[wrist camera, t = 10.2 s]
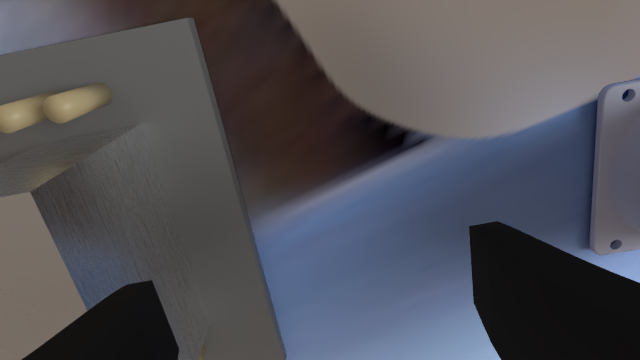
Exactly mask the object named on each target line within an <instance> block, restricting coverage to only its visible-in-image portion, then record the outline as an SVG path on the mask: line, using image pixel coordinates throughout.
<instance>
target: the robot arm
mask: <svg viewBox="0 0 640 360" xmlns="http://www.w3.org/2000/svg"><path fill="white" fill-rule="evenodd" d="M627 89H628V92H629V93H628V96H627V97H626V98H625V99H622V95H623V93H624V92H625V91H626V90H627ZM469 231H470V247H471V264H472V281H473V297H474V304H475V306H476V309H477V311H478V313H479V316H480V318H481V320H482V323H483V325H484V327H485V330H486V332H487V334H488V336H489V338H490V341H491V343H492V345H493V346H494V348H495V350H496V352H497V353H498V355H499V357H500V358H501V360H640V283H638V282H635V281H633V280H630V279H628V278H625V277H623V276H620V275H618V274H615V273H613V272H610V271H608V270H605V269H603V268H601V267H598V266H596V265H594V264H591V263H589V262H587V261H584V260H582V259H580V258H578V257H575V256H573V255H571V254H569V253H566V252H564V251H562V250H560V249H558V248H556V247H553V246H551V245H549V244H547V243H545V242H543V241H541V240H538V239H536V238H534V237H532V236H530V235H528V234H526V233H523V232H521V231H519V230H517V229H515V228H512V227H510V226H508V225H505V224H503V223H500V222H491V223H486V224H480V225H474V226H469ZM614 240H616V241H615V243H613V244H612V245H611V243H612V242H613V241H614ZM589 245H590V248H591V249H592V251H594V252H595V253H596V254H598V255H607V254H613V253H619V252H625V251H631V250H637V249H640V79H636V80H630V81H625V82H619V83H614V84H610V85H607V86H606V87H604V88H603V89H602V90H601V92H600V93H599V97H598V108H597V125H596V142H595V159H594V176H593V193H592V210H591V227H590V244H589ZM178 355H179V347H178V345H177V342H176V339H175V337H174V334H173V332H172V329H171V327H170V324H169V322H168V319H167V317H166V314H165V311H164V309H163V306H162V304H161V301H160V299H159V296H158V294H157V291H156V289H155V286H154V283H153V281H152V280H150V281H144V282H138V283H132V284H126V285H125V286H123V287H121V288H120V289H118V290H116V291H115V292H113V293H112V294H110V295H109V296H107V297H106V298H105V299H103V300H102V301H100V302H99V303H98V304H96V305H95V306H93V307H92V308H91V309H89V310H88V311H87V312H85V313H84V314H83V315H81V316H80V317H79V318H77V319H76V320H75V321H73V322H72V323H71V324H69V325H68V326H67V327H65V328H64V329H63V330H61V331H60V332H59V333H57V334H56V335H55V336H53V337H52V338H51V339H49V340H48V341H47V342H45V343H44V344H43V345H41V346H40V347H38V348H37V349H36V350H34V351H33V352H32V353H30V354H29V355H27V356H26V357H24V358H23V359H22V360H177V359H178Z"/></svg>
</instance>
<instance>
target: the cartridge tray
mask: <svg viewBox="0 0 640 360" xmlns="http://www.w3.org/2000/svg"><path fill="white" fill-rule="evenodd" d="M138 124H141V127H142V129H143V132H144V135H145V138H146V141H147V144H148V146H149V149H150V152H151V155H152V158H153V161H154V163H155V166H156V169H157V172H158V175H159V178H160V180H161V183H162V186H163V189H164V192H165V195H166V197H167V200H168V203H169V206H170V209H171V211H172V214H173V217H174V220H175V223H176V226H177V228H178V231H179V234H180V237H181V240H182V243H183V245H184V248H185V251H186V254H187V257H188V260H189V262H190V265H191V268H192V271H193V274H194V277H195V279H196V282H197V285H198V288H199V291H200V293H201V296H202V299H203V302H204V305H205V308H206V310H207V313H208V316H209V319H210V325H209V328H208V331H207V334H206V337H205V340H204V343H203V346H202V349H201V352H200V355H199V358H198V360H286V353H285V349H284V345H283V342H282V338H281V335H280V331H279V327H278V324H277V320H276V316H275V313H274V309H273V305H272V302H271V298H270V295H269V291H268V287H267V284H266V280H265V276H264V273H263V269H262V265H261V262H260V258H259V255H258V251H257V247H256V244H255V240H254V236H253V233H252V229H251V226H250V222H249V218H248V215H247V211H246V207H245V204H244V200H243V196H242V193H241V189H240V186H239V182H238V178H237V175H236V171H235V167H234V164H233V160H232V156H231V153H230V149H229V146H228V142H227V138H226V135H225V131H224V127H223V124H222V120H221V117H220V113H219V109H218V106H217V102H216V98H215V95H214V91H213V87H212V84H211V80H210V77H209V73H208V69H207V66H206V62H205V58H204V55H203V51H202V47H201V44H200V40H199V37H198V33H197V29H196V26H195V22H194V18H184V19H180V20H175V21H170V22H165V23H160V24H155V25H150V26H145V27H140V28H135V29H130V30H125V31H120V32H115V33H110V34H105V35H100V36H95V37H90V38H85V39H80V40H75V41H70V42H65V43H60V44H55V45H50V46H45V47H40V48H35V49H30V50H25V51H20V52H15V53H10V54H5V55H1V56H0V163H3V162H5V161H7V160H9V159H11V158H13V157H15V156H18V155H20V154H22V153H24V152H26V151H28V150H31V149H33V148H35V147H37V146H39V145H41V144H43V143H46V142H51V141H56V140H61V139H66V138H71V137H76V136H81V135H87V134H92V133H97V132H102V131H107V130H112V129H117V128H123V127H128V126H133V125H138Z"/></svg>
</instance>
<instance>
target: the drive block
mask: <svg viewBox="0 0 640 360" xmlns="http://www.w3.org/2000/svg"><path fill="white" fill-rule="evenodd" d="M150 280H152V281H153V283H154V286H155V289H156V291H157V294H158V296H159V299H160V301H161V304H162V306H163V309H164V311H165V314H166V317H167V319H168V322H169V324H170V327H171V329H172V332H173V334H174V337H175V339H176V342H177V345H178V347H179V355H178V359H177V360H198V358H199V355H200V352H201V349H202V346H203V343H204V340H205V337H206V334H207V331H208V328H209V325H210V319H209V316H208V313H207V310H206V308H205V305H204V302H203V299H202V296H201V293H200V291H199V288H198V285H197V282H196V279H195V277H194V274H193V271H192V268H191V265H190V262H189V260H188V257H187V254H186V251H185V248H184V245H183V243H182V240H181V237H180V234H179V231H178V228H177V226H176V223H175V220H174V217H173V214H172V211H171V209H170V206H169V203H168V200H167V197H166V195H165V192H164V189H163V186H162V183H161V180H160V178H159V175H158V172H157V169H156V166H155V163H154V161H153V158H152V155H151V152H150V149H149V146H148V144H147V141H146V138H145V135H144V132H143V129H142V127H141V124H138V125H133V126H128V127H123V128H117V129H112V130H107V131H102V132H97V133H92V134H87V135H81V136H76V137H71V138H66V139H61V140H56V141H51V142H46V143H43V144H41V145H39V146H37V147H35V148H33V149H31V150H28V151H26V152H24V153H22V154H20V155H18V156H15V157H13V158H11V159H9V160H7V161H5V162H3V163H0V360H22V359H23V358H24V357H26V356H27V355H29V354H30V353H32V352H33V351H34V350H36V349H37V348H38V347H40V346H41V345H43V344H44V343H45V342H47V341H48V340H49V339H51V338H52V337H53V336H55V335H56V334H57V333H59V332H60V331H61V330H63V329H64V328H65V327H67V326H68V325H69V324H71V323H72V322H73V321H75V320H76V319H77V318H79V317H80V316H81V315H83V314H84V313H85V312H87V311H88V310H89V309H91V308H92V307H93V306H95V305H96V304H98V303H99V302H100V301H102V300H103V299H105V298H106V297H107V296H109V295H110V294H112V293H113V292H115V291H116V290H118V289H120V288H121V287H123V286H125V285H126V284H132V283H138V282H144V281H150Z"/></svg>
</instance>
